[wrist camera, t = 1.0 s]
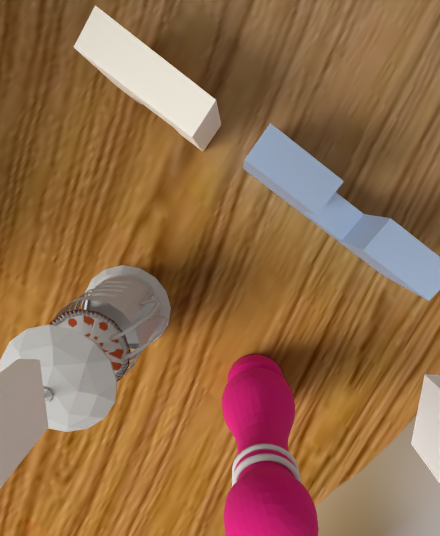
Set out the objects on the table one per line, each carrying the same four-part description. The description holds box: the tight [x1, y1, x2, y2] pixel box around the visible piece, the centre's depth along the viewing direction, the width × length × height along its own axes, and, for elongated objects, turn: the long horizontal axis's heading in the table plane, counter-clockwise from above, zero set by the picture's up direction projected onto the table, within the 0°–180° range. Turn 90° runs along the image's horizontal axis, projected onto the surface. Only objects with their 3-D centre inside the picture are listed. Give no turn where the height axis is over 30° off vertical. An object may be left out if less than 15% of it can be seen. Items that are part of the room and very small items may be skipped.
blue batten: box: [243, 123, 440, 301], centre depth 27 cm, size 18×3×8 cm, turn 54°
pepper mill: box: [222, 354, 318, 536], centre depth 26 cm, size 7×7×20 cm
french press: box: [0, 265, 171, 432], centre depth 22 cm, size 10×12×25 cm
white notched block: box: [74, 6, 221, 152], centre depth 26 cm, size 10×3×8 cm, turn 54°
